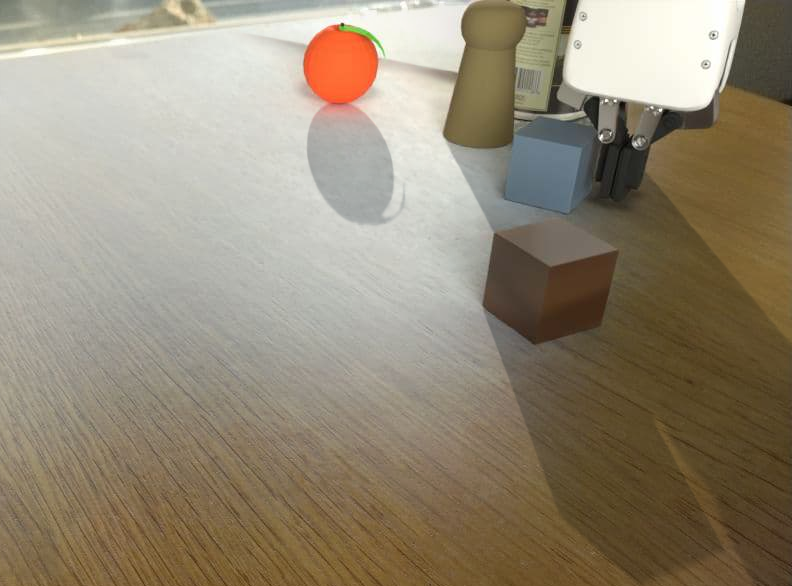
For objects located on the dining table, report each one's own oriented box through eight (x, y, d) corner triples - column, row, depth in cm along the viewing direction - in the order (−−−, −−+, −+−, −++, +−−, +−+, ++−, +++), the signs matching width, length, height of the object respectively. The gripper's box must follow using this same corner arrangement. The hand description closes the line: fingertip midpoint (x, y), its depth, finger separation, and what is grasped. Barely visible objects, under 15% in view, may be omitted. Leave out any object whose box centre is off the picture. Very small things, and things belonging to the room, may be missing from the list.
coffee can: (586, 90, 95) (617, -69, 87) (599, 126, 87) (636, -46, 79) (478, 84, 97) (499, -73, 89) (481, 119, 88) (505, -51, 80)
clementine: (397, 99, 93) (404, 21, 89) (366, 120, 88) (372, 38, 84) (322, 86, 96) (326, 9, 92) (288, 105, 91) (290, 26, 87)
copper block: (601, 326, 58) (619, 249, 55) (534, 345, 57) (550, 267, 54) (545, 289, 62) (560, 216, 59) (481, 306, 60) (493, 231, 57)
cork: (457, 119, 88) (474, -11, 82) (522, 131, 86) (545, -2, 79) (431, 139, 84) (447, 4, 78) (499, 153, 82) (521, 14, 75)
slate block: (590, 192, 75) (604, 127, 72) (568, 214, 71) (581, 148, 69) (527, 178, 77) (538, 115, 74) (503, 199, 74) (513, 134, 71)
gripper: (820, -81, 60) (734, 200, 70) (579, -103, 67) (534, 157, 77) (799, -63, 55) (709, 238, 65) (541, -88, 62) (497, 188, 72)
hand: (614, 194), depth 71 cm, fingers closed
